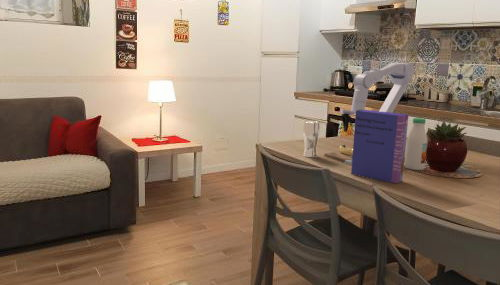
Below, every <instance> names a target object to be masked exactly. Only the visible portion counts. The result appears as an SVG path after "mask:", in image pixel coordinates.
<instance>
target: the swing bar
mask: <svg viewBox="0 0 500 285" xmlns="http://www.w3.org/2000/svg"><path fill="white" fill-rule="evenodd" d="M338 152H341V153H344V154H347V155H351V156H353V148H350V147H347V146H346V144H341V145H339V151H338Z"/></svg>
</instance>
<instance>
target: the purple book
mask: <svg viewBox="0 0 500 285" xmlns="http://www.w3.org/2000/svg"><path fill="white" fill-rule="evenodd" d="M355 115H356V116H354V117H355V119H354V120H355V121H354V130H353V132H354V133H353V143H352V146H353V147H352V149H353V156H352V165H351V170H350V171H351V172H350V175H352V174H356V175H355V176H357V175H360V176H359V177H362V176H364V177H363V178H366V177H368V178H367V179H370V180H371V179H372V180H376V181H381V182H384V183H386V182H387V183H391V184H395V185H396V184H397V185H398V184H399V183H401V182H403V176H404V175H403V173H404V162H405V152H406V143H407V137H408V135H407V133H408V123H409V117H410V115H409V114H406V113H405V114H404V113H396V112H392V113H389V112H379V111H378V110H371V109H370V110H368V109H365V110H356V114H355Z"/></svg>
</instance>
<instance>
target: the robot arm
mask: <svg viewBox="0 0 500 285" xmlns="http://www.w3.org/2000/svg"><path fill="white" fill-rule="evenodd" d="M414 74H415V67H414V64H413V63H412V62H396V61H393V62H389V64H387V65H386V66H384V67H382V68H377V67H372V68H371V70H368V71H367V70H366V71H365V72H364V73H358V74H357V75H355V77H354V78H353V80H352V81H353V85H354V86H353V90H354V92H353V97H352V103H351V108H350V110H348V109H340V114H341V115H340V116H341V120H342V125H343V132H345V133H347V132H348V130H349V129H348V128H349V125H350V120H351V118H352V116H353V117H356V110H366V105H367V100H368V96H369V90H370V88H372V87H373V85H374V84H376V83H378V82H380V81H382V80H383V77H386V76H388V75H389V78H390V80H391V82H392V83H393V86H392V88H391V89H390V91H389V93H388V94H387V97H386V98H385V100H384V101H383V104H382V105H381V107H380V108H379V112H389V113H394V110H395V109H396V107H397V105H398V103H399V102H400V100H401V98H402V96H403V94H405V91H406V90H407V87H408V85H409V83H410V82H411V80H412V77H413V76H414Z"/></svg>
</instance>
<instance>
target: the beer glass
mask: <svg viewBox="0 0 500 285" xmlns="http://www.w3.org/2000/svg"><path fill="white" fill-rule="evenodd" d="M320 134H321V122H320V121H317V120H305V121H304V124H303V142H304V151H303V157H305V158H317V157H318V144H319V141H320V140H319V139H320Z"/></svg>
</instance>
